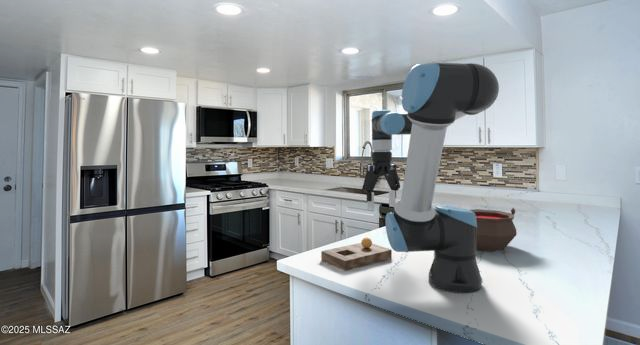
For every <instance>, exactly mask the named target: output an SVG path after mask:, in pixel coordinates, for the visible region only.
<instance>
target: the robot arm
mask: <svg viewBox="0 0 640 345" xmlns="http://www.w3.org/2000/svg"><path fill="white" fill-rule="evenodd" d="M499 84H500V83H499V80H498V78H497V76H496V75H495V73H494V72H493V71H492V70H491V69H490V68H488V67H486V66H484V65H482V64H479V63H462V62H461V63H459V62H458V63H457V62H456V63H455V62H423V63H418V64H416V65H414V66H413V67H412V68H410V70H409V72H408V73H407V75H406V77H405V79H404V82H403V86H402V89H401V90H402V91H401V98H402V99H401V106H402V109H403V110H404V111H405V112H406V113H404V112H401V113H400V112H395V111H394V112H393V111H391V110H389V109H378V110H373V111H372V113H371V150H372V152H371V161H372V162H373V163H372V165H369V164H368V165H366V172H365V176H364V179H363V185H362V188H361V191H362V192H364V193H365V194H366V202H367V210H370V211H375V192H373V191H374V189H375V186H376V184H377V183H378V180H379V178H381V177H382V176H383V177H384V178H385V180H386V182H387V184H388V186H389V188H390V189H388V206H389V207H392V208H393V212H392V211H390V212H387V213H386V215H385V230H386V235H387V241H388V242H389V243H388V244H389V245H390V247H391V250H393V251H394V252H399V253H410V252H413V253H414V252H431V251H432V252H434V251H435V257H434V256H433V260H432V264H431V265H430V269H429V271H428V283H429V284H430V285H431V286H433V287H434V288H437V289H439V290H442V291H447V292H452V293H463V294H464V293H466V294H467V293H475V292H478V291H479V290H481V289H482V288H483V282H482V281H483V279H482V275H481V273H480V272H481V271H480V269H479V265H478V263H477V249H476V229H477V220H476V215H475V213H474V212H472V211H470V210H471V209H468V208H467V209H466V208H463V207H456V206H450V205H441V204H440V205H436V206H435V207H433V200H434V195H435V189H436V186H437V185H436V184H437V180H438V174H439V169H440V164H441V158H442V155H443V151H444V150H443V148H444V143H445V138H446V133H447V130H448V129H447V128H448V127H450V126H452V124H454V123H455V121H456V120H459V119H461V118H463V117H465V116H468V115H469V116H474V115H477V114H480V113H483V112H484V111H486V110H488V109H489V108H490V107H491V106H492V105H494V103H495V101H496V100H497V99H498V96H499V91H500V85H499ZM394 135H396V136H399V135H400V136H402V135H405V136H406V135H410V136H409V144H408V150H407V156H406V164H405V169H404V170H405V171H404V176H403V183H402V190H401V197H400V200H399V201H398V202H396V199H397V191H399V189H400V188H401V183H400V180H399V174H398V171H397V164H393V163H391V162H392V160H393V153H392V150H393V136H394Z"/></svg>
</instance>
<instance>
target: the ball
mask: <svg viewBox="0 0 640 345" xmlns="http://www.w3.org/2000/svg"><path fill="white" fill-rule="evenodd" d="M360 243H361V244H362V246H363V247H364V248H370V247H371V245H372V244H373V241H372V239H371V238H370V237H364V238H362V240H361V242H360Z"/></svg>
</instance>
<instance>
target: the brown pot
mask: <svg viewBox="0 0 640 345" xmlns="http://www.w3.org/2000/svg"><path fill="white" fill-rule="evenodd" d="M469 210H470V211H472V212H474V213H475V215H476V220H477V229H476V251H477V250H478V251H484V252H485V251H486V252H497V251H498V252H499V251H504V250H505V249H506V248H507V246H508V245H509V244H510V243H512V241H513V239H514V238H515V237H516V236H517V228H516V226H515V223H514V219H515V213H516V209H515V207H512V208H511V210H510V212H506V211H502V210H497V209H496V210H495V209H494V210H493V209H480V208H479V209H478V208H476V209H469Z"/></svg>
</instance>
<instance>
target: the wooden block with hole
mask: <svg viewBox="0 0 640 345" xmlns="http://www.w3.org/2000/svg"><path fill="white" fill-rule="evenodd" d="M392 250H393V249H392V248H387V247H385V246H382V245H381V246H380V245H378V244H375V243H372V245H371V247H370V248H364V247H363V246H362V244H361V242H359V243H358V242H357V243H354V244H349V245H348V244H347V245H344V246H339V247H335V248H330V249H325V250H321V252H320V253H321V256H320V258H321V260H320V261H322V262H324V263H327V264H328V265H329V266H330V265H331V266H333V267H335V268H338V269H340V270H343V271H344V272H346V271H351V270H355V269H358V268H362V267H363V268H364V267H366V266H370V265H373V264H377V263H382V262H385V261H388V260H392V259H393V258H392V253H393V252H392Z"/></svg>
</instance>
